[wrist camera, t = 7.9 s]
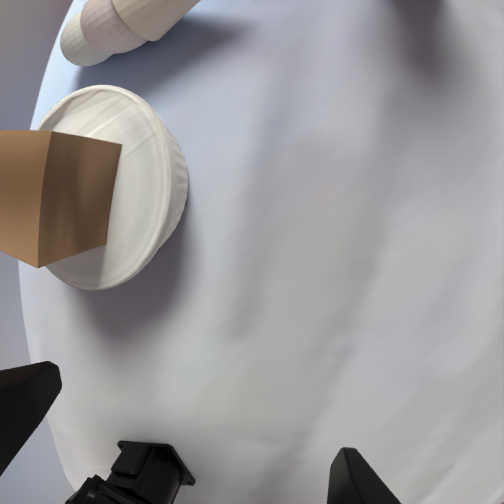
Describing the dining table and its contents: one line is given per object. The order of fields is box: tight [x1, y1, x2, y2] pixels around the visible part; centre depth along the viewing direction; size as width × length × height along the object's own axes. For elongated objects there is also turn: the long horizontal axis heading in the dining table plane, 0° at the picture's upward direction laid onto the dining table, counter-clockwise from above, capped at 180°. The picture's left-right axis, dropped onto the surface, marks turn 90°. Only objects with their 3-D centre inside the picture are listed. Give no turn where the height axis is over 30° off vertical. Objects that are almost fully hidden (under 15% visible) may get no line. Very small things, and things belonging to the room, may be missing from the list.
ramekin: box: [35, 85, 188, 291], centre depth 16 cm, size 11×11×5 cm
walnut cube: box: [0, 130, 122, 268], centre depth 11 cm, size 5×5×5 cm
